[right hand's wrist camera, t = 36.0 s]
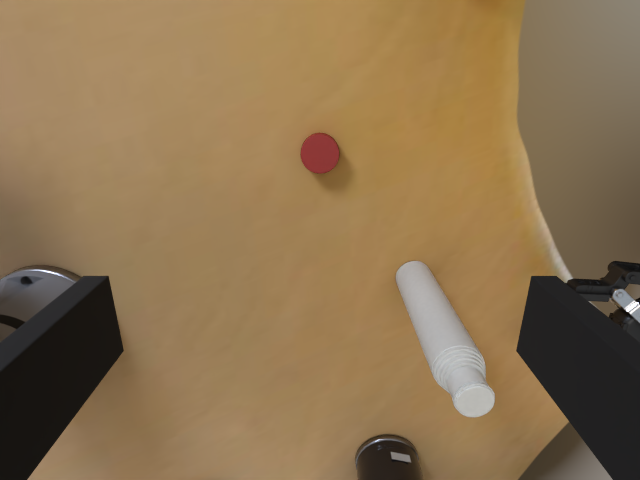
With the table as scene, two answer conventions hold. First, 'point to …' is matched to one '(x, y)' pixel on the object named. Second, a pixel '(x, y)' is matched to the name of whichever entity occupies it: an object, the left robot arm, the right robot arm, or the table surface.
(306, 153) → the cap
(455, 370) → the bottle
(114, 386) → the table surface
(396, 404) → the table surface
